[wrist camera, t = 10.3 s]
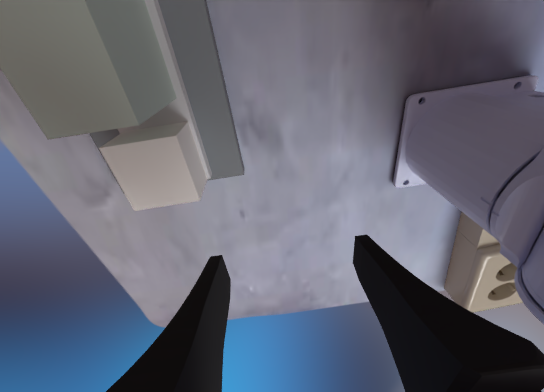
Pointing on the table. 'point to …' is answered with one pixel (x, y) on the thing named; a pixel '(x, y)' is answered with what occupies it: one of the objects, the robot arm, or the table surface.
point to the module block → (83, 63)
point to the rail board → (178, 118)
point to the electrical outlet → (479, 270)
